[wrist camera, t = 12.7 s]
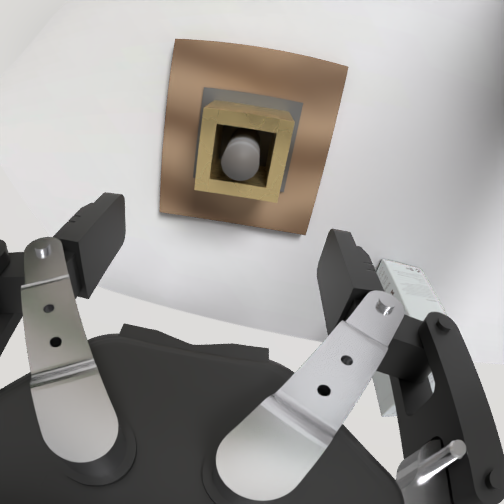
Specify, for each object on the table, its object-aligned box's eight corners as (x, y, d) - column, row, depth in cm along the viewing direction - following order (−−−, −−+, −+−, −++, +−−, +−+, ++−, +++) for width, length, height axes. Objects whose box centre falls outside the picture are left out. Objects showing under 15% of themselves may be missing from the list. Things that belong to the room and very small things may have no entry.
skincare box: (381, 256, 33) (430, 366, 20) (423, 267, 33) (477, 367, 21) (351, 312, 37) (378, 419, 25) (391, 318, 38) (425, 417, 25)
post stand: (179, 39, 22) (146, 31, 15) (344, 66, 22) (376, 68, 16) (162, 206, 30) (135, 250, 24) (304, 229, 31) (314, 279, 24)
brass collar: (214, 100, 23) (203, 107, 19) (289, 111, 24) (294, 121, 19) (205, 168, 27) (194, 189, 22) (275, 179, 27) (277, 203, 23)
